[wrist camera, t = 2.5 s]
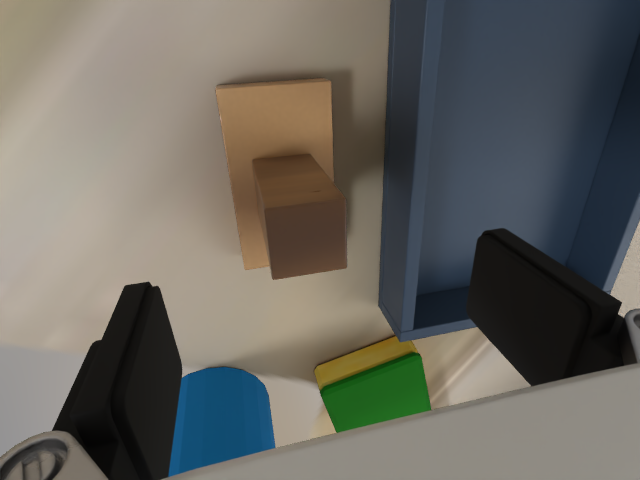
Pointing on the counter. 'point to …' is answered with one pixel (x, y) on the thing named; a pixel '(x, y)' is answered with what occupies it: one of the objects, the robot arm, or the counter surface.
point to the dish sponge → (374, 385)
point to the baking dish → (505, 145)
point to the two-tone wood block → (284, 175)
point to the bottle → (220, 419)
